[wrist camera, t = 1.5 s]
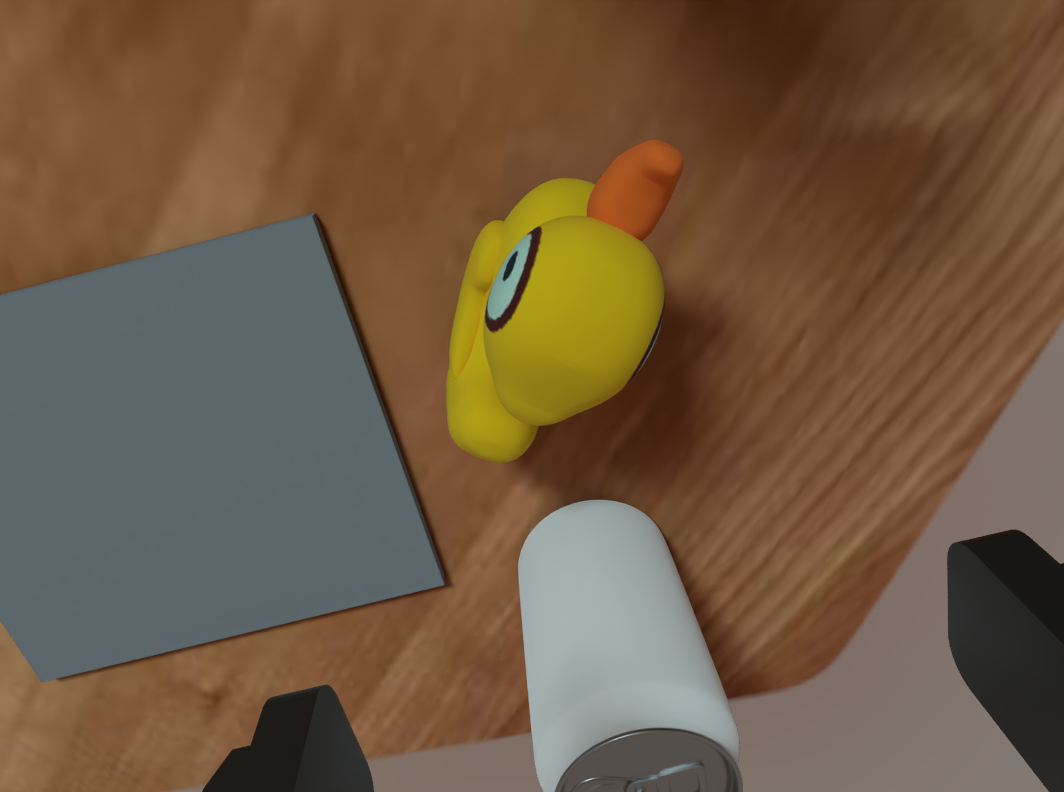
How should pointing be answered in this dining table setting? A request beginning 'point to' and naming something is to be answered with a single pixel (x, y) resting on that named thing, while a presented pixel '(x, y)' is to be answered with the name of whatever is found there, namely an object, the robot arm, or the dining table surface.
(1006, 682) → the robot arm
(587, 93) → the dining table surface
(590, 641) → the can
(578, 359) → the duckling
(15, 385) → the mat
